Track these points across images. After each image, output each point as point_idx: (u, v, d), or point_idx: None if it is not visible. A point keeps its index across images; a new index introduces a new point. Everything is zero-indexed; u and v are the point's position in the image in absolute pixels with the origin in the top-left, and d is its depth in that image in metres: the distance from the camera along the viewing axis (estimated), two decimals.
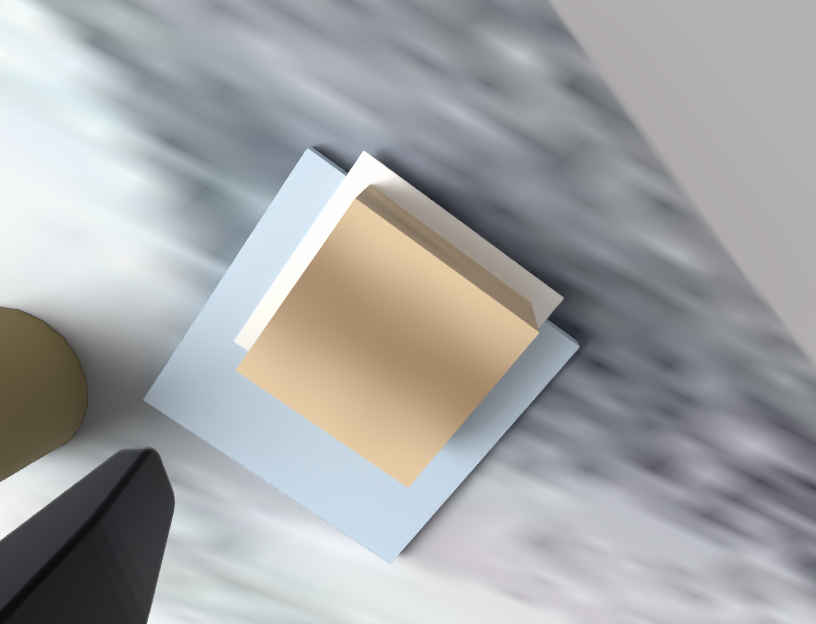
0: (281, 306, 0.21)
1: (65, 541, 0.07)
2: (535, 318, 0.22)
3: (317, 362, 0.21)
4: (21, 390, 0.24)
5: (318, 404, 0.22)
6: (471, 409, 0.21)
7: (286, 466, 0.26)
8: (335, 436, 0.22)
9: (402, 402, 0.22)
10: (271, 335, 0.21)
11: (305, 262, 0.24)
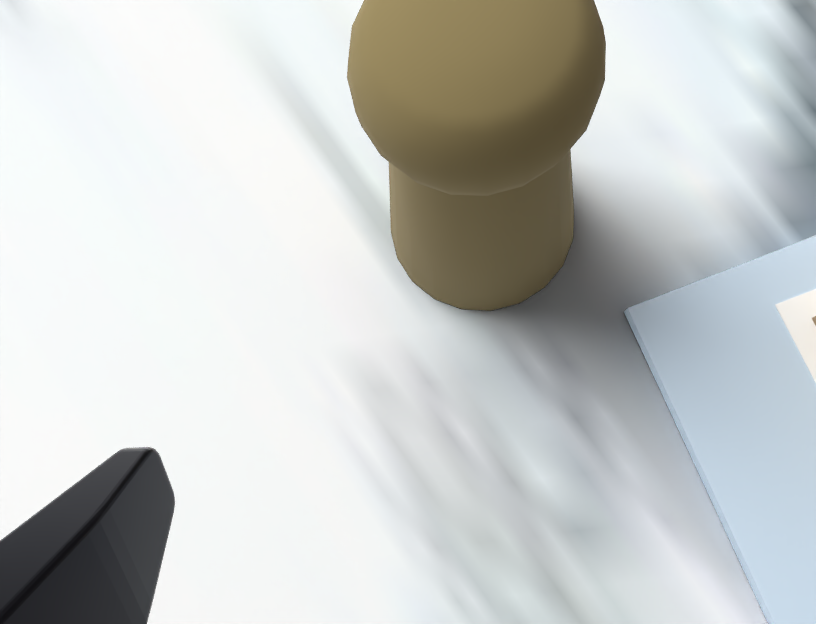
0: None
1: (65, 541, 0.07)
2: None
3: None
4: (571, 200, 0.20)
5: None
6: None
7: (743, 472, 0.20)
8: None
9: None
10: None
11: None
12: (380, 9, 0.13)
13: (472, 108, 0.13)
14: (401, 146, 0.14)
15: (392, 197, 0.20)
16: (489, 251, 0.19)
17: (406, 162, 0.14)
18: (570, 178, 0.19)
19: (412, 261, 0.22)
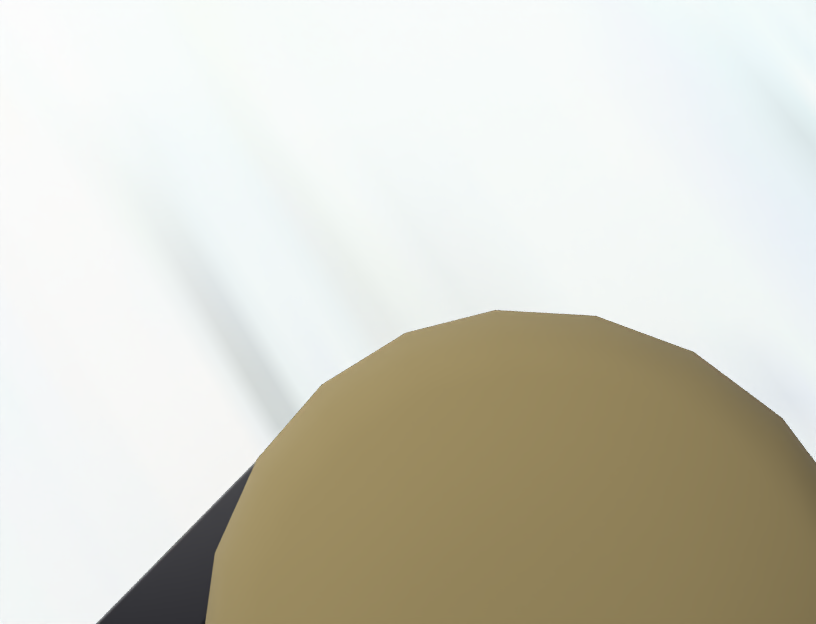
0: None
1: None
2: None
3: None
4: None
5: None
6: None
7: None
8: None
9: None
10: None
11: None
12: (272, 598, 0.05)
13: None
14: None
15: None
16: None
17: None
18: None
19: None
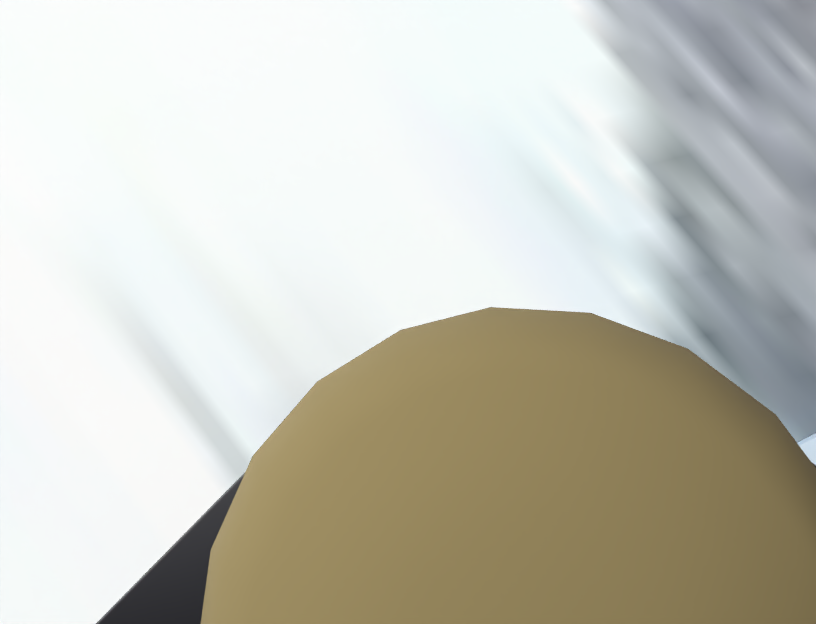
0: None
1: None
2: None
3: None
4: None
5: None
6: None
7: None
8: None
9: None
10: None
11: None
12: (269, 592, 0.05)
13: None
14: None
15: None
16: None
17: None
18: None
19: None
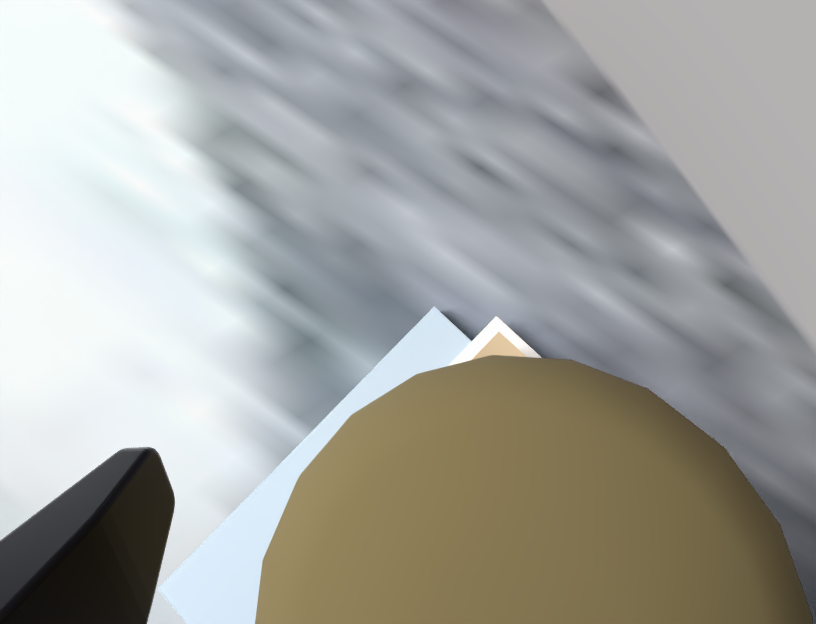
0: None
1: (65, 541, 0.07)
2: None
3: None
4: None
5: None
6: None
7: None
8: None
9: None
10: None
11: None
12: (315, 595, 0.06)
13: None
14: None
15: None
16: None
17: None
18: None
19: None
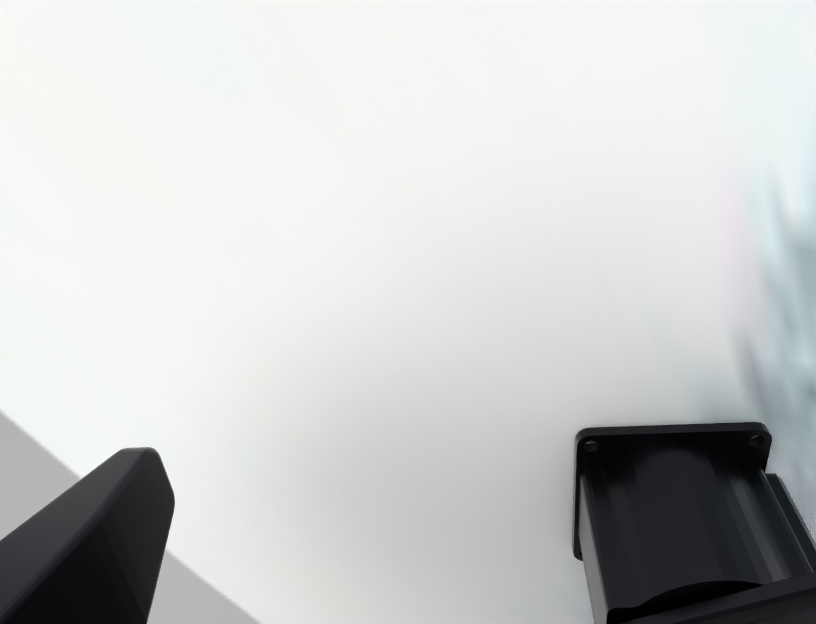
0: None
1: (65, 541, 0.07)
2: None
3: None
4: None
5: None
6: None
7: None
8: None
9: None
10: None
11: None
12: None
13: None
14: None
15: None
16: None
17: None
18: None
19: None
